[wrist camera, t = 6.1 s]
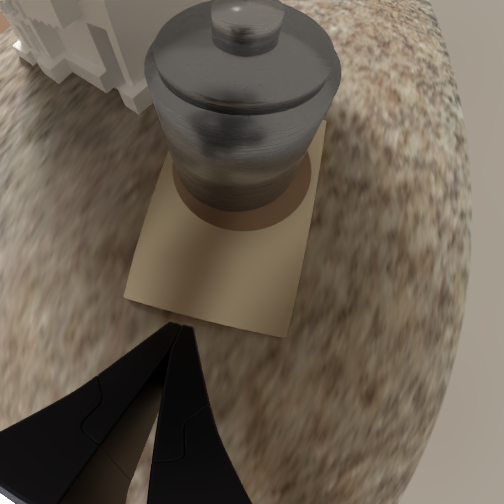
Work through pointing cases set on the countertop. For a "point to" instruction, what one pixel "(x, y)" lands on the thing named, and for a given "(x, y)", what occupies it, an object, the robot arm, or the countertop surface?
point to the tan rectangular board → (226, 252)
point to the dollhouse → (93, 40)
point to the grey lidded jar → (240, 97)
